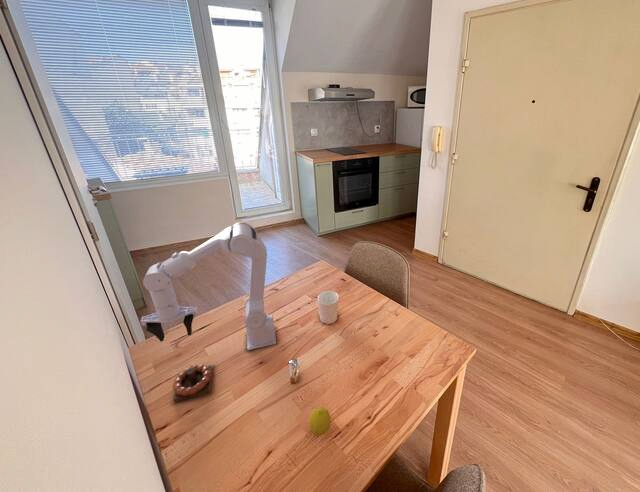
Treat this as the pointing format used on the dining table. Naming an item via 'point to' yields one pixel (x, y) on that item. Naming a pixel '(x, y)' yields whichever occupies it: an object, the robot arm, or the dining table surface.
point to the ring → (295, 364)
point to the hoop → (194, 389)
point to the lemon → (320, 421)
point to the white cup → (328, 306)
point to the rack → (191, 381)
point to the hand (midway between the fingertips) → (176, 336)
